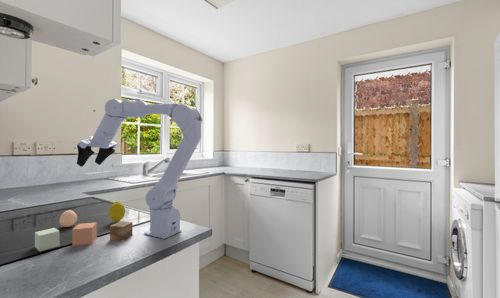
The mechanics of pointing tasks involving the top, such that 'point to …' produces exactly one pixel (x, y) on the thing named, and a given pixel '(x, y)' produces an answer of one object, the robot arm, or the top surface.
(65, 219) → the egg
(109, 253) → the top surface
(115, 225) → the walnut block
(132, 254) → the top surface
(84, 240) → the terracotta block
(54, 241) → the sage block
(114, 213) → the lemon
